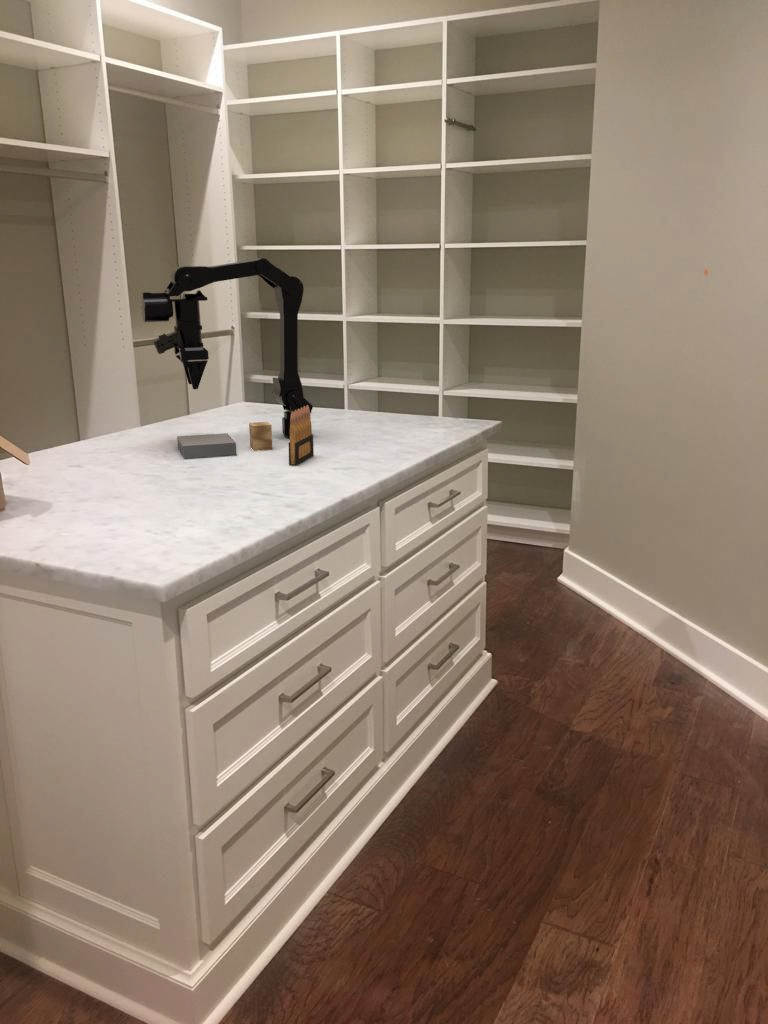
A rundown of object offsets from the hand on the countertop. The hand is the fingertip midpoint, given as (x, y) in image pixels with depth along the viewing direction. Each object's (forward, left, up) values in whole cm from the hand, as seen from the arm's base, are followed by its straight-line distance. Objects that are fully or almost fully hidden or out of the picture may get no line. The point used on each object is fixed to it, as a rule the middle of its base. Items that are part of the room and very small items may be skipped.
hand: (193, 386), depth 205 cm
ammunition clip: (-20, +27, -14) cm, 36 cm away
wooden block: (-14, +11, -14) cm, 22 cm away
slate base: (-1, +11, -14) cm, 18 cm away
